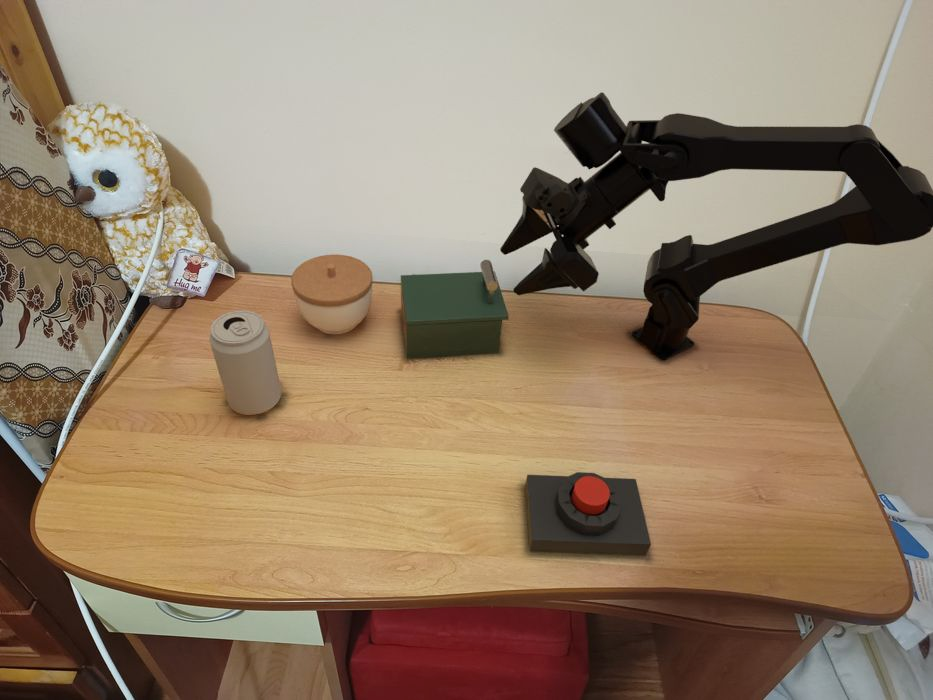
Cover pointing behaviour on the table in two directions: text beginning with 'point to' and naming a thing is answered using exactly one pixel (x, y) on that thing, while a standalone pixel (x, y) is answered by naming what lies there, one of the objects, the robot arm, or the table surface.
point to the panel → (584, 518)
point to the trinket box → (333, 292)
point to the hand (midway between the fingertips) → (508, 271)
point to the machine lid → (453, 297)
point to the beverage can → (245, 362)
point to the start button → (590, 495)
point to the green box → (450, 338)
